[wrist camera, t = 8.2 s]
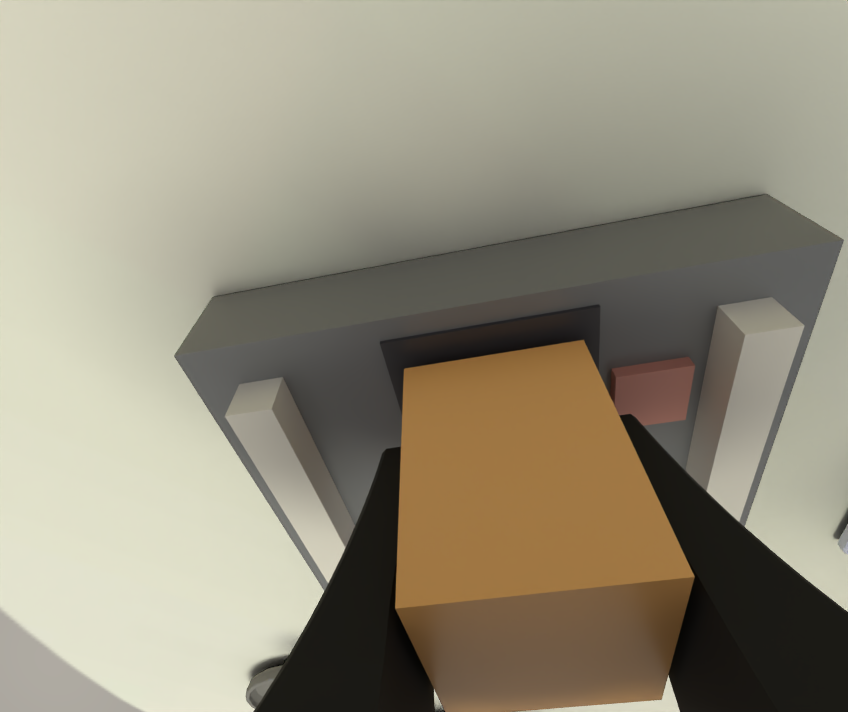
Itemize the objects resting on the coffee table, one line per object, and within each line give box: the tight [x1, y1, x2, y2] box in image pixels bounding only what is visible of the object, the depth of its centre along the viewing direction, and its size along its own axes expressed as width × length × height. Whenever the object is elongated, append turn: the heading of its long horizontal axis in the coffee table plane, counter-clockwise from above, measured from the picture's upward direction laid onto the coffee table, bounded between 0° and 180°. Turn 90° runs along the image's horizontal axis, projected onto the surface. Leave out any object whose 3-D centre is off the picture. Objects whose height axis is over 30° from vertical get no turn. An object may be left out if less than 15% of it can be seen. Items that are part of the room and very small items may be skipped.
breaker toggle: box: [395, 340, 695, 712], centre depth 9 cm, size 4×4×5 cm
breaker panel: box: [174, 194, 844, 591], centre depth 15 cm, size 13×16×3 cm
